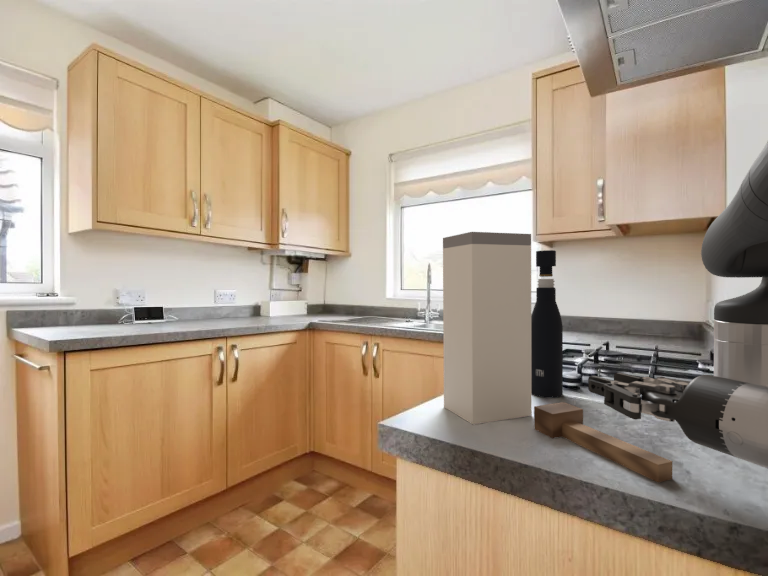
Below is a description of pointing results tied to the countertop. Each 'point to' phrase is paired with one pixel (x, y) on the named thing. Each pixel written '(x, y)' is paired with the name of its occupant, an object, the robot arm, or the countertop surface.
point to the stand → (487, 325)
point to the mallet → (598, 440)
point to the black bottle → (546, 333)
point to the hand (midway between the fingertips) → (603, 381)
